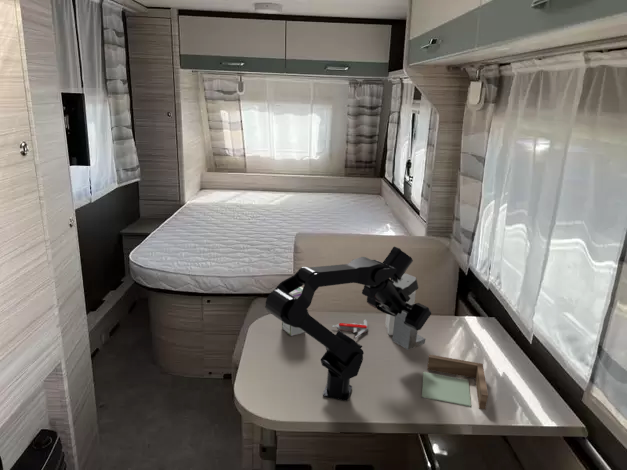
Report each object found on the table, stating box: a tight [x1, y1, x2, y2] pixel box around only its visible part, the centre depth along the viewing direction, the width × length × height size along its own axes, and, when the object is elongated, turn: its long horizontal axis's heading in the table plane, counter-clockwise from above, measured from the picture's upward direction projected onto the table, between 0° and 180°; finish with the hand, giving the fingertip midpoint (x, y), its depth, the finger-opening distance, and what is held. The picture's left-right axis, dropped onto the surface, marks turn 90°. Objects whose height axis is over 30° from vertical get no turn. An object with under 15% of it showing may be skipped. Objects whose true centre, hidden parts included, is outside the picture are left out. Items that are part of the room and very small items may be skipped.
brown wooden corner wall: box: [426, 354, 489, 410], centre depth 128 cm, size 16×14×4 cm
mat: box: [421, 371, 472, 407], centre depth 127 cm, size 12×12×1 cm
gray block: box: [391, 311, 426, 351], centre depth 135 cm, size 7×6×10 cm
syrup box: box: [281, 286, 306, 337], centre depth 152 cm, size 6×6×14 cm
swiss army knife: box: [331, 319, 368, 339], centre depth 156 cm, size 12×14×2 cm
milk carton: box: [384, 290, 417, 336], centre depth 155 cm, size 7×7×19 cm
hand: (409, 321), depth 134 cm, fingers closed on gray block, 6 cm apart
